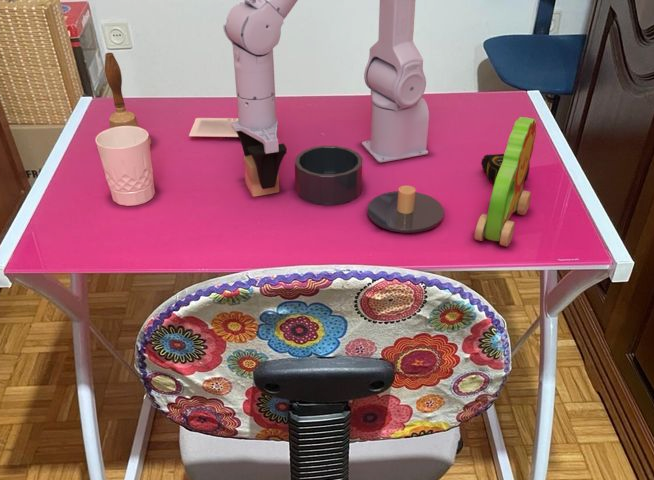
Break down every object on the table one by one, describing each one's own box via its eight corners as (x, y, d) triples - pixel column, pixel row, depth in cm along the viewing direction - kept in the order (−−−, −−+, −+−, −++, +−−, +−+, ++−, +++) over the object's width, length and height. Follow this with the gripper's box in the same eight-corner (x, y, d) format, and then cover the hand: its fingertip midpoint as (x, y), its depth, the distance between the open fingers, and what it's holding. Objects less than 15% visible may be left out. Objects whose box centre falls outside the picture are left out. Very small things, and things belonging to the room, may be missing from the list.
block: (271, 180, 119) (269, 151, 116) (279, 192, 116) (278, 163, 113) (245, 184, 118) (243, 156, 115) (253, 197, 115) (250, 168, 112)
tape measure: (519, 170, 121) (523, 149, 119) (532, 189, 116) (536, 168, 114) (479, 171, 121) (482, 151, 118) (490, 191, 116) (493, 170, 113)
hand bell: (97, 153, 127) (76, 61, 116) (114, 133, 133) (96, 44, 123) (142, 156, 126) (125, 64, 115) (157, 136, 132) (142, 46, 122)
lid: (422, 191, 116) (424, 166, 113) (456, 227, 108) (460, 200, 105) (355, 204, 113) (356, 178, 110) (385, 242, 105) (387, 215, 102)
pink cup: (167, 188, 117) (157, 129, 111) (143, 211, 112) (131, 151, 105) (125, 180, 119) (113, 122, 113) (99, 203, 114) (84, 144, 107)
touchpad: (272, 142, 130) (271, 131, 128) (189, 141, 130) (187, 130, 129) (276, 124, 136) (275, 113, 134) (196, 123, 136) (195, 112, 135)
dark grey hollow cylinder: (347, 169, 122) (347, 141, 119) (371, 198, 114) (372, 169, 111) (287, 179, 119) (286, 151, 116) (308, 210, 112) (308, 181, 108)
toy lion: (507, 253, 102) (527, 153, 92) (470, 244, 104) (485, 145, 94) (533, 202, 113) (553, 107, 103) (499, 194, 115) (515, 101, 105)
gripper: (217, 78, 111) (225, 160, 120) (242, 115, 101) (249, 201, 109) (261, 73, 113) (266, 154, 122) (290, 108, 102) (293, 193, 111)
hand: (261, 176), depth 116 cm, fingers open, 7 cm apart
